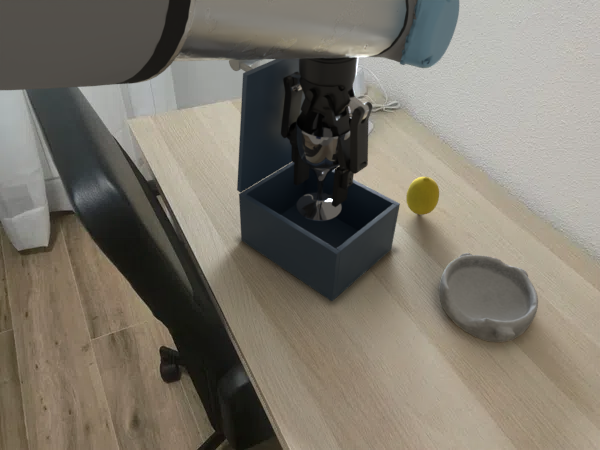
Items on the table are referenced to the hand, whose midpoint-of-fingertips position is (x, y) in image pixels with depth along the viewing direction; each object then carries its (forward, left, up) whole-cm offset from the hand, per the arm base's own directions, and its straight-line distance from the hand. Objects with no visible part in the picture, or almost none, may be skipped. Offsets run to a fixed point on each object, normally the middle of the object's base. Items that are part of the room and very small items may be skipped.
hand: (319, 191), depth 84 cm
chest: (0, 0, -11) cm, 11 cm away
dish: (+7, -27, -11) cm, 30 cm away
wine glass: (0, 0, -3) cm, 3 cm away
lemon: (+19, -8, -11) cm, 23 cm away
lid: (0, +8, +9) cm, 12 cm away
